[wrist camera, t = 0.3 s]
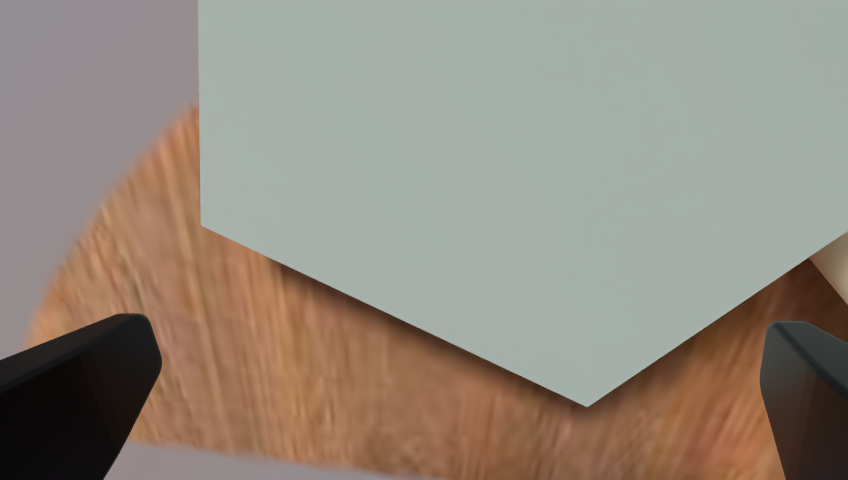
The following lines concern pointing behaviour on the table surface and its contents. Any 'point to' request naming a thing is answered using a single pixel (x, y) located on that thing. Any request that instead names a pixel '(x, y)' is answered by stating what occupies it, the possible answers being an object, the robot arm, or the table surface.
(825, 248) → the cream dome knob
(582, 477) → the table surface
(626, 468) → the table surface
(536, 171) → the lid
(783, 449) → the robot arm
